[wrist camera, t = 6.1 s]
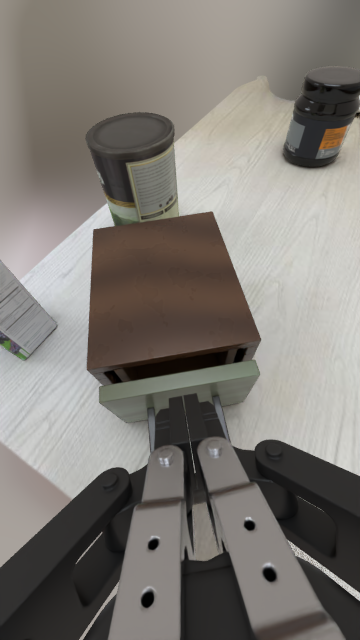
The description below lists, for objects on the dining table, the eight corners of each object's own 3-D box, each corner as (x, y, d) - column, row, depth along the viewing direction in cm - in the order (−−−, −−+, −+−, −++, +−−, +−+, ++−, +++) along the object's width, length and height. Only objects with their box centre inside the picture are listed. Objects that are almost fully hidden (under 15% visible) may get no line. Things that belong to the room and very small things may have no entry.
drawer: (267, 485, 21) (301, 490, 14) (129, 512, 20) (96, 530, 14) (210, 289, 32) (213, 240, 25) (121, 303, 32) (101, 257, 25)
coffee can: (113, 254, 38) (74, 153, 26) (123, 213, 44) (95, 114, 32) (180, 252, 37) (171, 148, 25) (181, 211, 43) (175, 109, 31)
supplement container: (348, 162, 48) (388, 78, 38) (299, 174, 47) (328, 90, 37) (315, 139, 54) (343, 61, 43) (271, 150, 52) (289, 71, 42)
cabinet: (241, 382, 26) (261, 340, 18) (121, 403, 26) (86, 369, 18) (208, 274, 35) (212, 211, 27) (118, 288, 34) (93, 229, 26)
